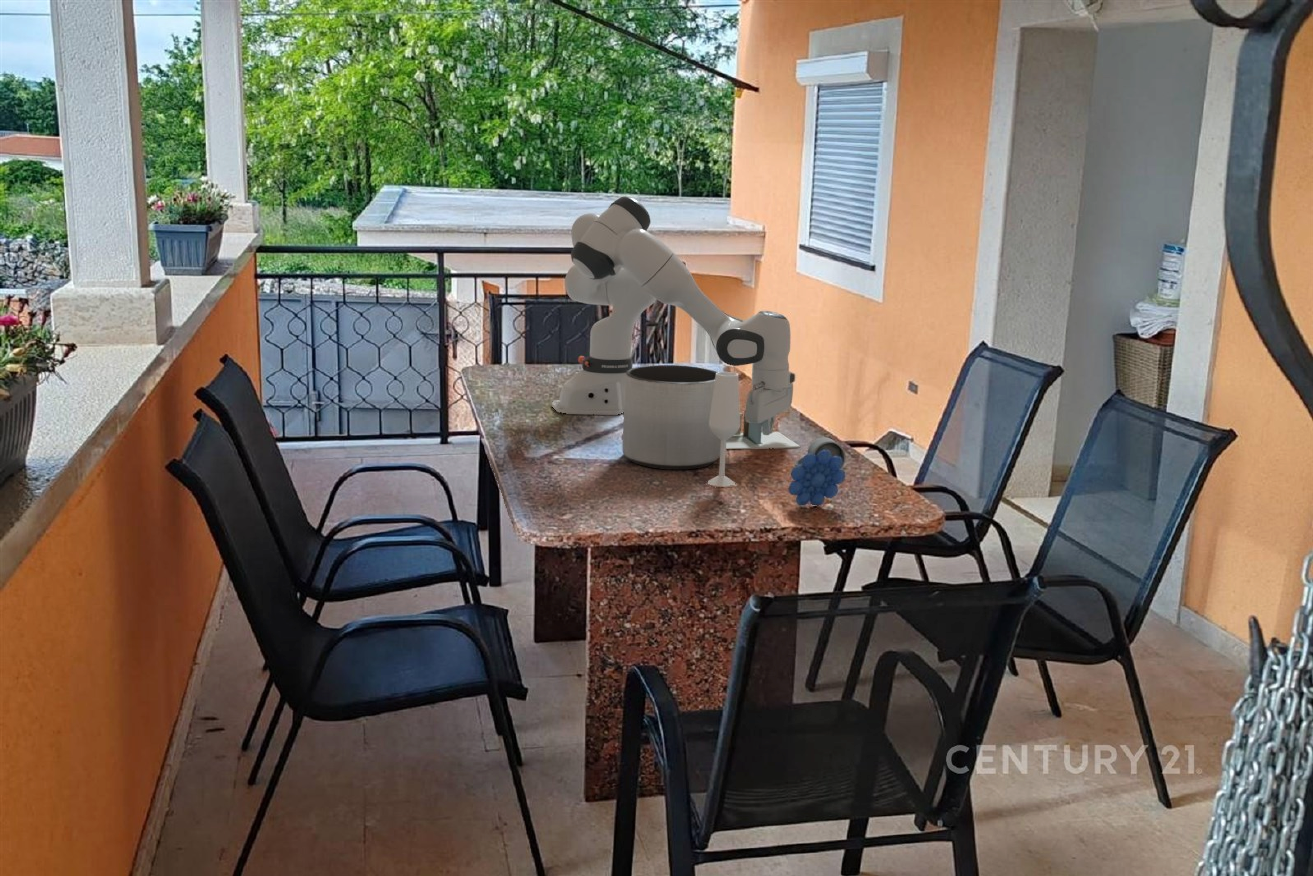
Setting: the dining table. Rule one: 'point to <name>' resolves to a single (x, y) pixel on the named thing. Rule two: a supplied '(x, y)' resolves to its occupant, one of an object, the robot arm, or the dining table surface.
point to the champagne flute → (724, 417)
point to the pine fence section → (746, 427)
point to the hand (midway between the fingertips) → (767, 434)
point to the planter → (669, 417)
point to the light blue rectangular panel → (755, 432)
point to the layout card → (766, 442)
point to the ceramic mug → (824, 444)
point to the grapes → (816, 478)
